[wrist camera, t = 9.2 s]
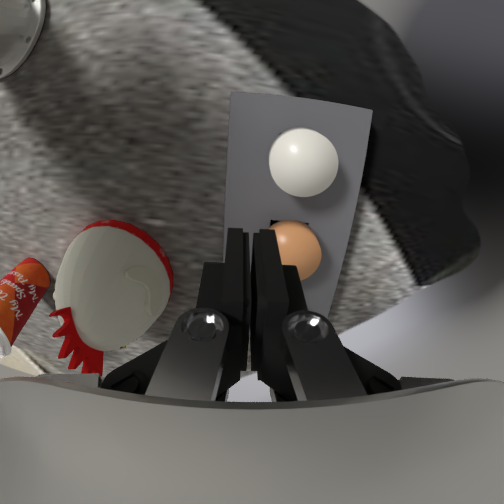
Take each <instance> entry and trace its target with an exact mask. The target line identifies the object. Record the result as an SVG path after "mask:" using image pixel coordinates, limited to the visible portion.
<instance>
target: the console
mask: <svg viewBox="0 0 504 504" xmlns="http://www.w3.org/2000/svg"><path fill="white" fill-rule="evenodd" d="M372 111H373V110H369V109H364V108H360V107H355V106H350V105H344V104H339V103H333V102H327V101H321V100H314V99H307V98H300V97H291V96H282V95H272V94H260V93H246V92H231V98H230V113H229V130H228V147H227V167H226V188H225V213H224V242H223V263H225V254H226V243H227V232H228V228H243V232H249V248H250V274H251V260H252V245H253V233H259V229H268V228H269V227H270V220H278V221H283V220H297V221H301V222H303V223H305V224H307V225H308V226H309V227H310V228H311V229H312V230H313V231H314V233H315V235H316V237H317V240H318V242H319V245H320V248H321V261H320V264H319V266H318V268H317V269H316V271H315V272H314V273H313V274H312V275H310V276H309V277H308V278H306V279H304V280H301V285H302V288H303V292H304V296H305V300H306V304H307V308H308V311H313V312H317V313H319V314H321V315H323V316H324V317H326V318H328V314H329V311H330V308H331V304H332V301H333V297H334V294H335V290H336V287H337V283H338V279H339V276H340V272H341V268H342V264H343V260H344V256H345V252H346V248H347V244H348V240H349V236H350V232H351V227H352V223H353V218H354V214H355V209H356V204H357V200H358V195H359V190H360V185H361V179H362V174H363V169H364V163H365V157H366V151H367V145H368V139H369V132H370V126H371V119H372ZM297 127H305V128H309V129H312V130H315V131H317V132H318V133H320V134H321V135H323V136H324V137H326V138H327V139H328V140H329V141H330V142H331V143H332V145H333V146H334V148H335V150H336V152H337V155H338V171H337V174H336V177H335V179H334V181H333V182H332V184H331V185H330V186H329V187H328V188H327V189H326V190H324V191H323V192H321V193H319V194H317V195H314V196H310V197H298V196H293V195H291V194H288V193H286V192H285V191H283V190H282V189H281V188H280V187H279V186H278V185H277V184H276V183H275V181H274V179H273V177H272V175H271V171H270V167H269V151H270V147H271V145H272V143H273V142H274V140H275V139H276V138H277V137H278V136H279V133H283V132H284V131H286V130H289V129H292V128H297ZM249 336H250V329H249Z"/></svg>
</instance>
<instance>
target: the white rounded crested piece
mask: <svg viewBox="0 0 504 504" xmlns="http://www.w3.org/2000/svg"><path fill="white" fill-rule="evenodd" d="M172 288H173V272H172V269H171V266H170V263H169V260H168V258H167V256H166V255H165V253H164V252H163V250H162V249H161V247H160V246H159V244H158V243H157V242H156V241H155V240H153V239H152V238H151V237H150V236H149V235H148V234H147V233H146V232H144V231H142V230H140V229H139V228H137V227H135V226H133V225H131V224H129V223H125V222H121V221H117V220H104V221H98V222H96V223H93V224H91V225H89V226H87V227H86V228H85V229H84V230H83V231H82V232H81V233H80V234H79V235H78V236H77V237H76V238H75V239H74V240H73V241H72V242H71V244H70V245H69V247H68V249H67V251H66V253H65V256H64V258H63V261H62V264H61V266H60V269H59V272H58V275H57V278H56V283H55V291H54V293H53V298H54V300H55V306H56V311H54V312H52V313H51V314H50V315H49V316H50V317H51V316H58V319H59V321H60V324H61V326H62V327H61V328H59V329H58V330H57V331H56V332H55V333H54V334H53V337H61V336H65V340H64V342H63V345H62V347H61V350H60V353H59V356H58V359H60V358H66V357H67V356H68V355H69V354H70V353H71V352H72V351H73V350H74V351H73V355H72V358H71V361H70V363H69V367H68V369H76V368H77V367H78V366H79V365H80V363H81V362H82V361H83V367H82V373H81V374H91V373H99V375H100V377H102V372H103V352H104V351H112V350H116V349H119V348H126V345H128V344H130V343H132V342H133V341H135V340H137V339H138V338H139V337H141V336H142V335H143V334H144V333H145V332H146V331H147V330H148V329H149V328H150V326H151V325H152V324H153V323H154V322H155V321H156V320H157V318H158V317H159V316H160V315H161V314H162V312H163V311H164V309H165V307H166V305H167V303H168V300H169V297H170V294H171V291H172Z"/></svg>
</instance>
